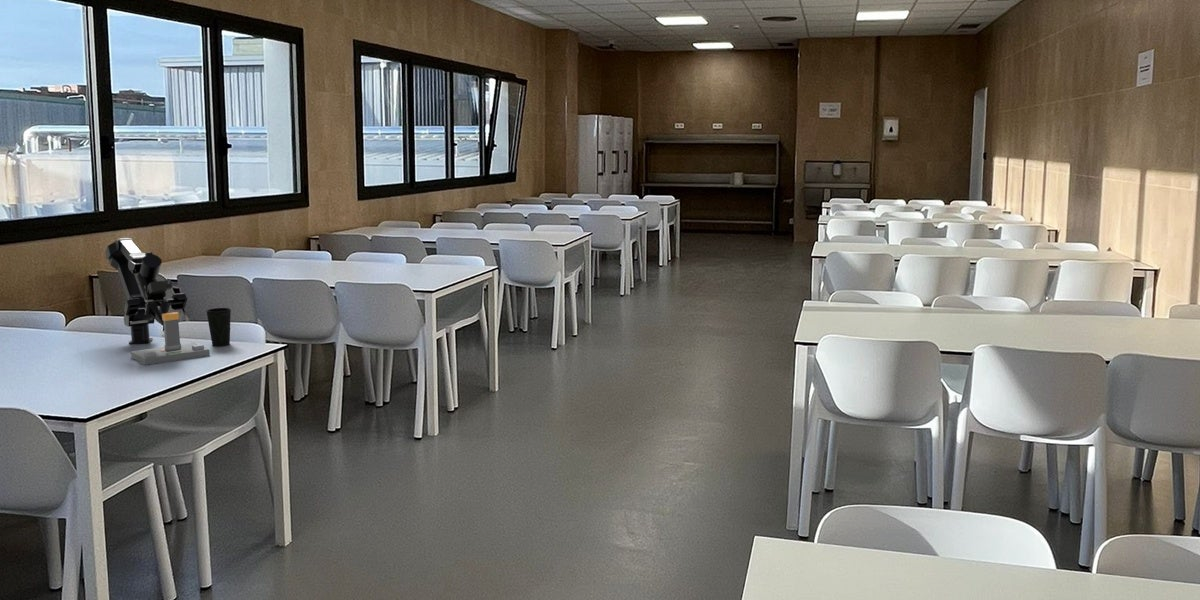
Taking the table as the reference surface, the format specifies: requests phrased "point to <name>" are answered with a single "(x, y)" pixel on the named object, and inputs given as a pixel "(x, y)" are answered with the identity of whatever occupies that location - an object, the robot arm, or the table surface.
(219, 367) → the table surface
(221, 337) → the cup
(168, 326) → the handle
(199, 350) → the panel
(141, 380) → the table surface
